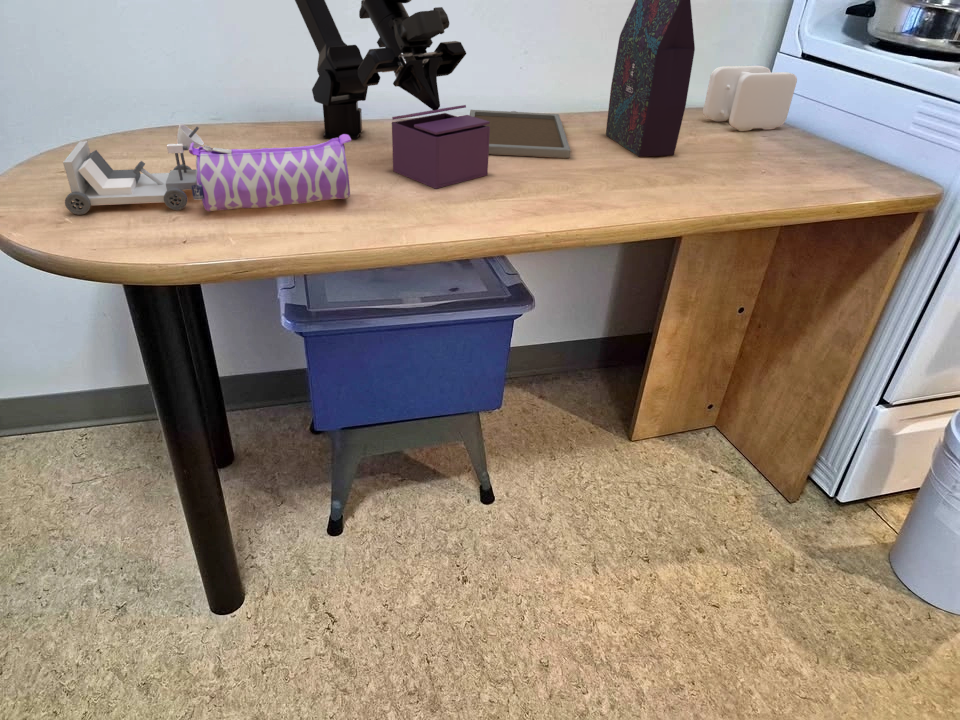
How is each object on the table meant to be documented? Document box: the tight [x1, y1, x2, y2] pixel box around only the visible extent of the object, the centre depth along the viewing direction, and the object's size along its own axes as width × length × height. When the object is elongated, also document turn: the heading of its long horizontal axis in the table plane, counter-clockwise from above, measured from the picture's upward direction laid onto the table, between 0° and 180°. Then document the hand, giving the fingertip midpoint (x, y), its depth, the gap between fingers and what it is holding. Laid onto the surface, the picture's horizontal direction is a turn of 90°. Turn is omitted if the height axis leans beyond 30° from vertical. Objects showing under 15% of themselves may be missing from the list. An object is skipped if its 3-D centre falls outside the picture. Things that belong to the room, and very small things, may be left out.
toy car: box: [62, 123, 205, 216], centre depth 97 cm, size 18×10×12 cm
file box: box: [391, 112, 490, 190], centre depth 113 cm, size 11×12×9 cm
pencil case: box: [188, 134, 352, 212], centre depth 98 cm, size 22×9×10 cm, turn 111°
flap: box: [391, 104, 467, 121], centre depth 112 cm, size 5×11×1 cm, turn 134°
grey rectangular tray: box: [469, 109, 571, 159], centre depth 137 cm, size 19×2×30 cm
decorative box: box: [605, 0, 696, 158], centre depth 128 cm, size 8×16×28 cm, turn 16°
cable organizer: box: [702, 65, 798, 132], centre depth 150 cm, size 15×11×12 cm
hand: (437, 108), depth 110 cm, fingers closed, pressing on flap
